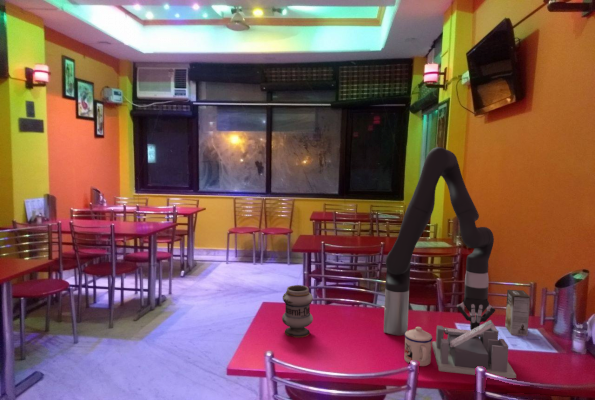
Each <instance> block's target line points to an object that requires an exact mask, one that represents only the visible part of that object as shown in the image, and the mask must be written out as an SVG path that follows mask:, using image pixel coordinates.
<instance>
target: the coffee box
mask: <svg viewBox="0 0 595 400" xmlns="http://www.w3.org/2000/svg"><path fill="white" fill-rule="evenodd" d="M506 291H507V293H506V304H505V305H506V307H505V324H504V325H505V326H504V327H505V329H507V331H508V332H509V334H510V335H512V336H522V337H528V332H529V315H530V303H531V296H530V295H528V294H527V293H526V292H525V291H524V290H520V289H519V290H518V289H506Z"/></svg>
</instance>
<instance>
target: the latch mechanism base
mask: <svg viewBox="0 0 595 400" xmlns="http://www.w3.org/2000/svg"><path fill="white" fill-rule="evenodd" d="M443 328H444V326H443V325H436V332H435V334H436V335H435V341H432V342H431V348H432V351H433V353H434V356H435V361H436V365H437V367H438V368H437V369H438V371H439V372H444V373H445V372H446V373H452V374H453V373H455V374H462V375H463V374H464V375H472V376H476V375H475V368H476V367H477V366H483V367H485V368H486V370H487V372H489V373H492V374H495V375H499V376H503V377H507V378H516V379H517V373H516V372H515V371H514V369H513V368H512V366H511V364H510V363H509V361H508V360H509V345H508V343H507V342H506V341H505V339H504V338H499V330H498V328H496V329H494V330H492V328H490V329H488V330H486V331H484V332H483V337H472V338H471V339H469V340H467V341H465V342H463V343H461V344H459V345H457V346H455V347H454V348H453V349H451V348H450V346H449V343H448V342H449V341H452V340H453V339H455V338H457V337H459V336H461V335H453V334H447V338H444V337H445V335H444V334H445V333H444V329H443ZM507 378H506V379H507Z"/></svg>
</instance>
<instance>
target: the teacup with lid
mask: <svg viewBox="0 0 595 400" xmlns="http://www.w3.org/2000/svg"><path fill="white" fill-rule="evenodd" d="M432 340H433V336H432V334H431V333H429V332H427V331H425V330H423V328H422V327H420V326H416V327H415V328H413V329H407V331H406V333H405V335H404V361H405V362H406V363H407V364H409V362H410V361H411V360H417V361H419V362H420V366H419V367H426V366H429V365H430V364H431V362H432V361H431V359H432Z"/></svg>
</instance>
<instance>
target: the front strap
mask: <svg viewBox="0 0 595 400" xmlns="http://www.w3.org/2000/svg"><path fill="white" fill-rule="evenodd" d="M490 328H492V330H494V329H497V327H496V326H495V324H494V322H493V321H492V320H491V319H489V320H486V321H485V322H483V323H482V324H480V326H478V327H476V328H474V329H472V330H471V329H469V330H470V331H469V332H467V333H465V334H463V335H461V336H459V337H457V338H455V339H453V340H452V341H449V342H448V343H449V346H450V348H451V349H453V348H454V347H455V346H457V345H459V344H461V343H463V342H465V341H467V340H469V339H471V338H472V337H474V336H476V335H478V334H480V333H482V332H484V331H486V330H488V329H490Z"/></svg>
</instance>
